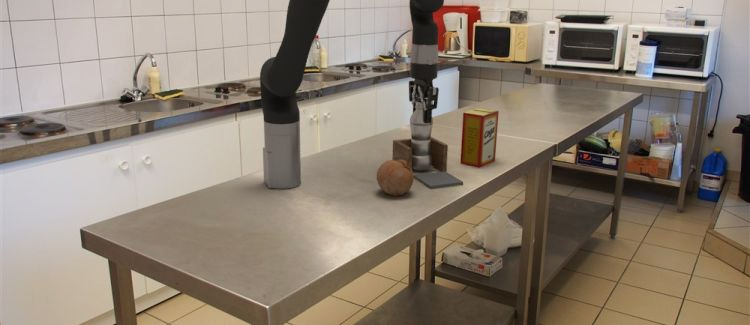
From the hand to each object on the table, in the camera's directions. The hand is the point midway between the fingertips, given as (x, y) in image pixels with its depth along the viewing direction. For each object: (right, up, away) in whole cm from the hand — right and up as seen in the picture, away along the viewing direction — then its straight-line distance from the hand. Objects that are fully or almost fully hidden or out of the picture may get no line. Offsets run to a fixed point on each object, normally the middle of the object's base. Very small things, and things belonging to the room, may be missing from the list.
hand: (421, 120), depth 174 cm
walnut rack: (0, -14, +4) cm, 15 cm away
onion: (-8, -20, -16) cm, 27 cm away
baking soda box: (+18, -12, +13) cm, 25 cm away
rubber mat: (+4, -17, -5) cm, 18 cm away
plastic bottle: (0, -14, +4) cm, 15 cm away
